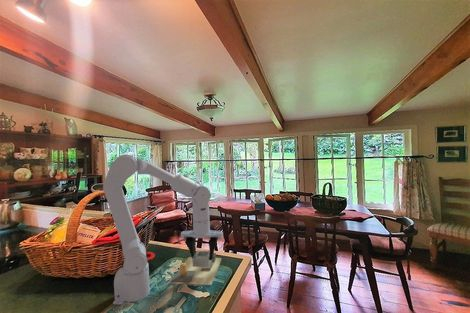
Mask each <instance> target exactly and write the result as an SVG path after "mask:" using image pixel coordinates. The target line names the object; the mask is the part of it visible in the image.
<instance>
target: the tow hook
mask: <svg viewBox="0 0 470 313" xmlns="http://www.w3.org/2000/svg"><path fill="white" fill-rule="evenodd" d="M146 256H148V257H147V262H150V261H151V260H154V258H155V256H156V254H155V253H154V252H151V251H146Z"/></svg>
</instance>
